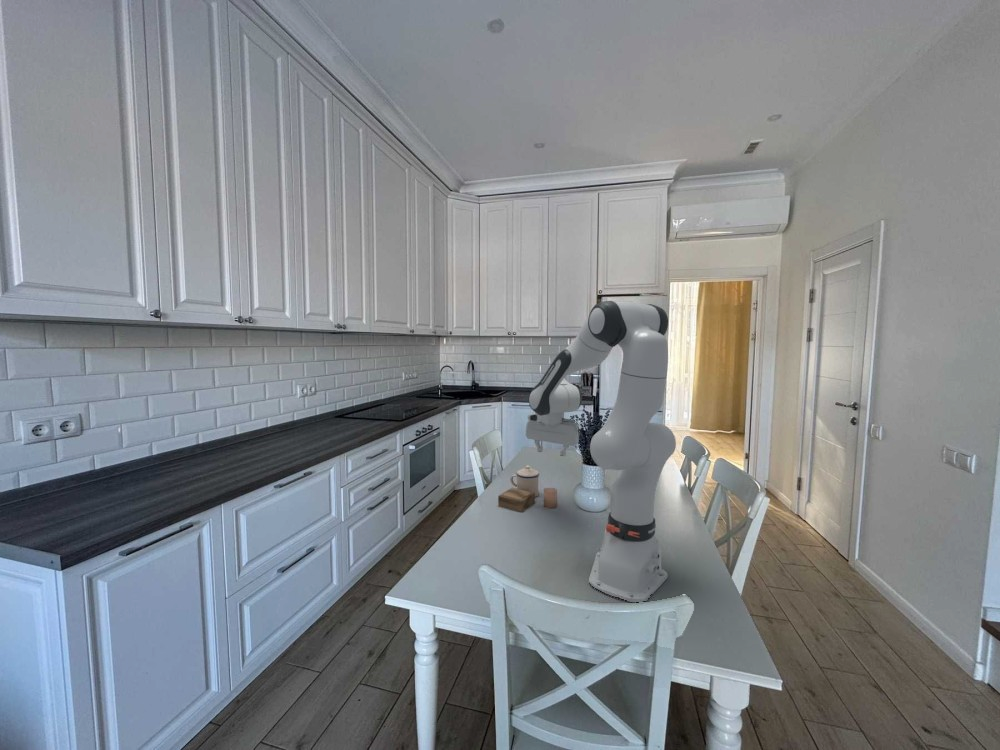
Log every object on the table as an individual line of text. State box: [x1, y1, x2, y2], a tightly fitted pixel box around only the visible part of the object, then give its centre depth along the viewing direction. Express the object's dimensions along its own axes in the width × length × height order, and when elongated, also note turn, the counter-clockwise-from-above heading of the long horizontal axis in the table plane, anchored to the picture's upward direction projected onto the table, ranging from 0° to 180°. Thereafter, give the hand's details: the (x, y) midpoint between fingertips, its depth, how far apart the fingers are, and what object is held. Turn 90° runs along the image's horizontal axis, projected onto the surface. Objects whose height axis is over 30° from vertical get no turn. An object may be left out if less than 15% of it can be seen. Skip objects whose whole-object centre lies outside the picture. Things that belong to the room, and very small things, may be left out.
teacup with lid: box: [510, 464, 540, 498], centre depth 158 cm, size 12×9×12 cm
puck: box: [543, 487, 558, 510], centre depth 147 cm, size 5×5×6 cm
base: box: [497, 487, 536, 513], centre depth 148 cm, size 10×10×4 cm
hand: (551, 453), depth 146 cm, fingers open, 8 cm apart
